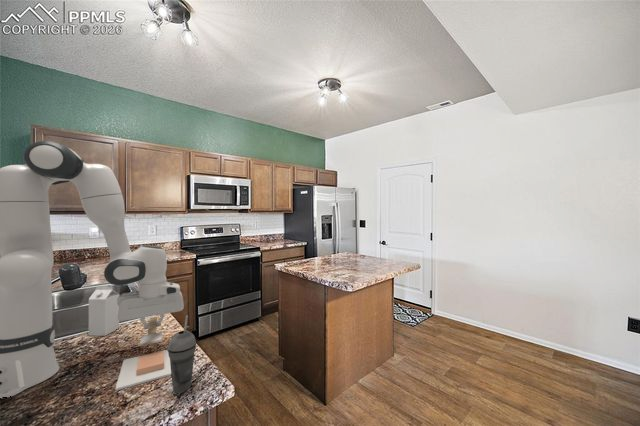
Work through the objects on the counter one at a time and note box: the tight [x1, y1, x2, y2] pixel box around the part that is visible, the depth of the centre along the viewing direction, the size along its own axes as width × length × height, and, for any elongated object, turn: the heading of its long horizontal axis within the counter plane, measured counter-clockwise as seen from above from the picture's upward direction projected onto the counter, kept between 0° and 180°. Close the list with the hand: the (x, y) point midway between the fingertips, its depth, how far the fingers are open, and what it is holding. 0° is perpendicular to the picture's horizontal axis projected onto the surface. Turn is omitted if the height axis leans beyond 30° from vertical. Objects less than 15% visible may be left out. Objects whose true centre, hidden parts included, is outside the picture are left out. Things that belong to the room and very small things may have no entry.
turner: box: [139, 316, 163, 346], centre depth 93 cm, size 6×17×3 cm, turn 31°
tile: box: [137, 349, 165, 375], centre depth 83 cm, size 7×2×9 cm
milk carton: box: [88, 286, 120, 337], centre depth 109 cm, size 7×7×19 cm
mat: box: [114, 349, 171, 391], centre depth 83 cm, size 14×17×1 cm
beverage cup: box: [167, 315, 197, 393], centre depth 73 cm, size 7×7×20 cm
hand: (152, 327), depth 95 cm, fingers closed on turner, 2 cm apart
